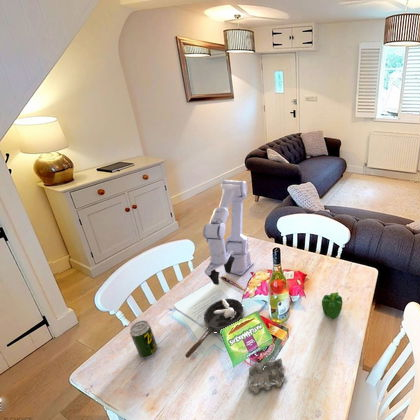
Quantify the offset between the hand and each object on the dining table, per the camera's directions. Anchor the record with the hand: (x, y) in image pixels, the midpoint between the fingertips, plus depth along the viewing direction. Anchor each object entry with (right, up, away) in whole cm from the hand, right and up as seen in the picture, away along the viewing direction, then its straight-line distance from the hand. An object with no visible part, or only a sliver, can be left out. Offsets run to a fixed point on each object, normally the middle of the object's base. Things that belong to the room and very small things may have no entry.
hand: (222, 278), depth 111 cm
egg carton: (+24, -25, -27) cm, 44 cm away
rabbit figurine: (+4, -13, -6) cm, 15 cm away
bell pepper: (+45, -14, -3) cm, 48 cm away
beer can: (-17, -20, -20) cm, 33 cm away
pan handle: (-1, -18, -19) cm, 26 cm away
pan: (+4, -14, -7) cm, 16 cm away
